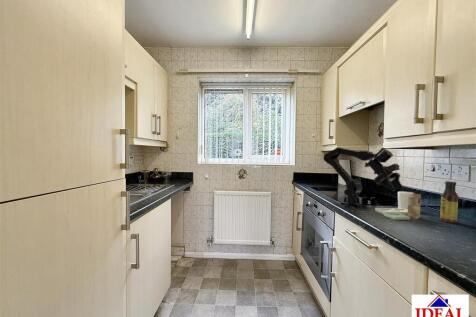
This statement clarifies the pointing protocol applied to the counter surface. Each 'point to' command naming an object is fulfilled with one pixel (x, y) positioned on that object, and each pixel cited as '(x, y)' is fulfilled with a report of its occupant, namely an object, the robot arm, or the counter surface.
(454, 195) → the sauce bottle
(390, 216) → the tray green
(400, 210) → the grey tray
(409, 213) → the letter block
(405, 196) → the white cup
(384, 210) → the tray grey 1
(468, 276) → the counter surface
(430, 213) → the counter surface
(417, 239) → the counter surface
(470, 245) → the counter surface
